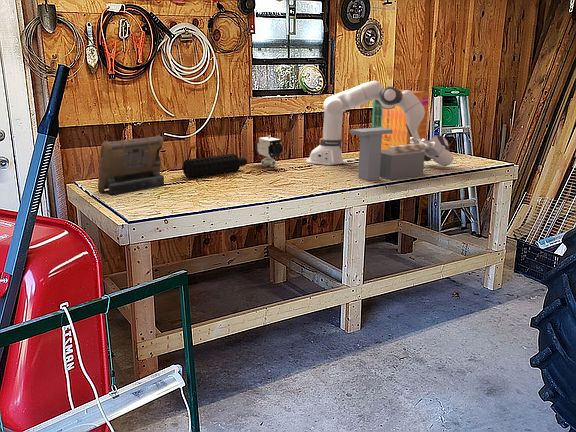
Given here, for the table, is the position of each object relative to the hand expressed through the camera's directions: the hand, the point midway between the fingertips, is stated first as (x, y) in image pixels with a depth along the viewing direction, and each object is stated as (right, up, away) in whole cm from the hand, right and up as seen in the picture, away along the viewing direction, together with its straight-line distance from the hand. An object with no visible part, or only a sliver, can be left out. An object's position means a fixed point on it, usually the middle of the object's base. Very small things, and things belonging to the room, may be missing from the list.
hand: (417, 138), depth 312 cm
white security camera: (-82, -13, +20) cm, 86 cm away
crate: (-11, -20, -1) cm, 23 cm away
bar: (-6, -7, -2) cm, 9 cm away
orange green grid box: (+4, +3, +79) cm, 79 cm away
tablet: (-146, -29, -37) cm, 153 cm away
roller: (-110, -20, -2) cm, 111 cm away
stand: (-28, -22, -10) cm, 37 cm away
